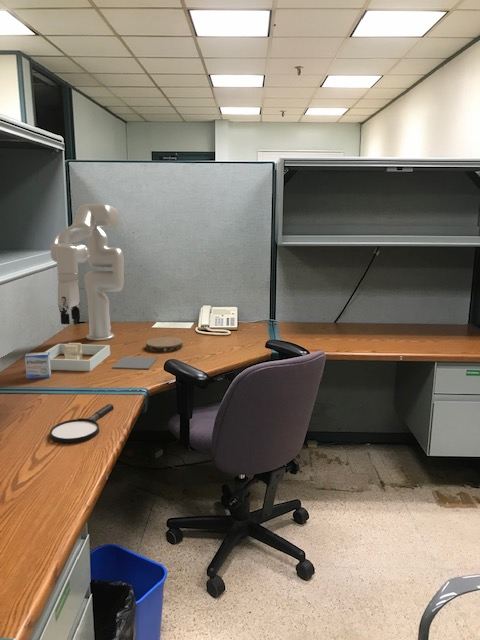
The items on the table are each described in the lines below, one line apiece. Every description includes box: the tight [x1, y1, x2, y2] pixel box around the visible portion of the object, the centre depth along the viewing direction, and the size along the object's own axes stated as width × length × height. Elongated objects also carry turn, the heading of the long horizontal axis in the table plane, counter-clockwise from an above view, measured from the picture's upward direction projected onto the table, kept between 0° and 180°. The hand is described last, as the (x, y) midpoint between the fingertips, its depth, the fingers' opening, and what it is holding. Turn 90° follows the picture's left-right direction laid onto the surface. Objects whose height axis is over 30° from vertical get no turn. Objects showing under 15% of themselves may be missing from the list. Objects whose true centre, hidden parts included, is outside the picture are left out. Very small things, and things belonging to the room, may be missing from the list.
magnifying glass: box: [49, 403, 114, 445], centre depth 137 cm, size 12×24×2 cm, turn 163°
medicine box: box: [24, 351, 52, 380], centre depth 176 cm, size 8×4×9 cm, turn 105°
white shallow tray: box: [44, 343, 111, 372], centre depth 194 cm, size 22×22×4 cm
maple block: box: [64, 342, 83, 360], centre depth 194 cm, size 5×5×7 cm
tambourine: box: [145, 336, 184, 354], centre depth 215 cm, size 16×16×3 cm
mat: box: [111, 356, 158, 370], centre depth 193 cm, size 14×14×1 cm
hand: (70, 321), depth 191 cm, fingers open, 9 cm apart
